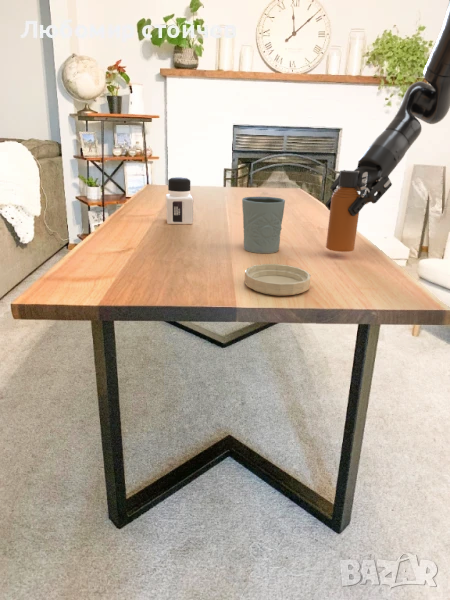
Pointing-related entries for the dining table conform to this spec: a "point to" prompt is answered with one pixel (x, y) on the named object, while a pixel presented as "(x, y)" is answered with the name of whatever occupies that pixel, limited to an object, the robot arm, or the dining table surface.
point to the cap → (348, 178)
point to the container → (179, 202)
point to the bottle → (342, 220)
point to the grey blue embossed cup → (262, 223)
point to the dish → (277, 279)
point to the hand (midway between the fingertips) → (339, 210)
